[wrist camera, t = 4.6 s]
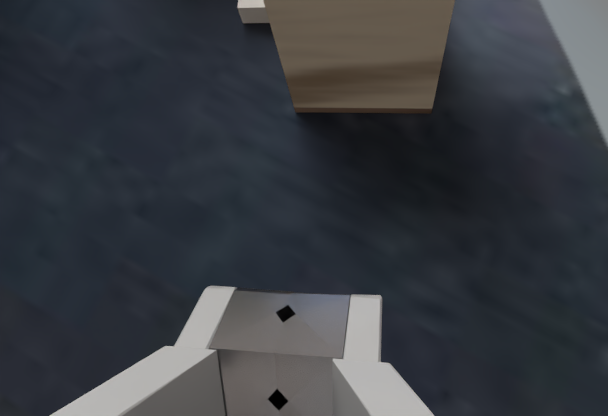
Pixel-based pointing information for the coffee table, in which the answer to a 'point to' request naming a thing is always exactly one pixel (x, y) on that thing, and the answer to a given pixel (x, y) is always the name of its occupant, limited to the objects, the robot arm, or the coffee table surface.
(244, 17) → the board
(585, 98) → the coffee table surface
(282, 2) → the birch block
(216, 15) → the coffee table surface
